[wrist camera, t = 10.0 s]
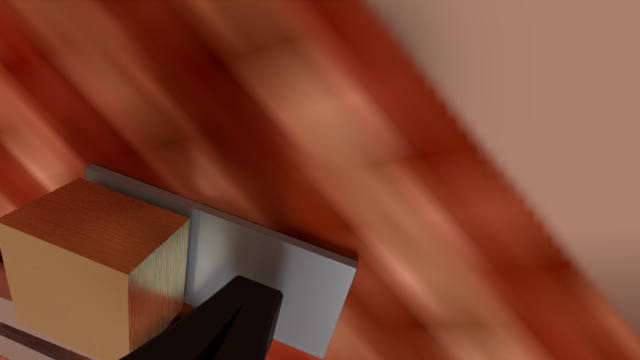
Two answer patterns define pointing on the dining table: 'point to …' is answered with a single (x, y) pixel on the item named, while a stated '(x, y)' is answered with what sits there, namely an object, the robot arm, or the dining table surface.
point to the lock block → (95, 267)
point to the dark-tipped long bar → (31, 347)
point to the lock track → (252, 263)
